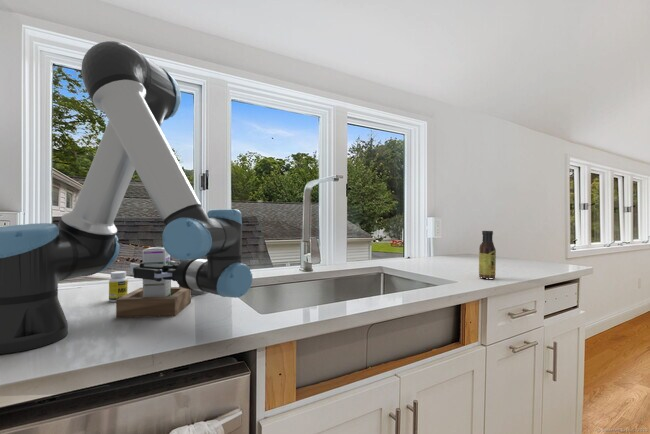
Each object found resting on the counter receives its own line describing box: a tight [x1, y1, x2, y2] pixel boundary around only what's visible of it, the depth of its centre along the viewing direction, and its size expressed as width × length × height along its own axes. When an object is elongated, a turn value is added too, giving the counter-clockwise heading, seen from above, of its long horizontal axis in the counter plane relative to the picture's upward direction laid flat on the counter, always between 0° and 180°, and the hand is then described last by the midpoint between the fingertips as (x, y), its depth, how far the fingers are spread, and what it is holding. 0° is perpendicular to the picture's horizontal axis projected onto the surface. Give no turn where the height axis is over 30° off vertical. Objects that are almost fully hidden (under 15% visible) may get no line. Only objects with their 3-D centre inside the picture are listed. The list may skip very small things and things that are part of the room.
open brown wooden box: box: [115, 286, 192, 319], centre depth 94 cm, size 14×14×4 cm
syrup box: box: [141, 246, 172, 297], centre depth 94 cm, size 6×6×14 cm
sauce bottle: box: [478, 230, 497, 279], centre depth 144 cm, size 7×6×20 cm
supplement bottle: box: [108, 270, 129, 303], centre depth 103 cm, size 5×5×8 cm
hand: (147, 266), depth 96 cm, fingers closed on syrup box, 8 cm apart
